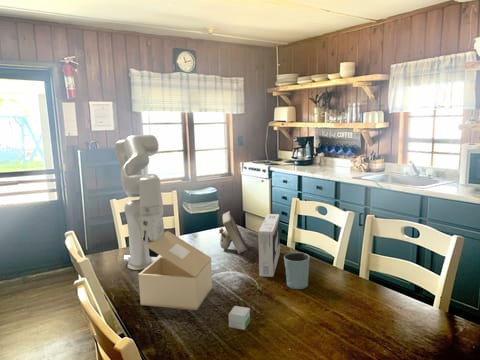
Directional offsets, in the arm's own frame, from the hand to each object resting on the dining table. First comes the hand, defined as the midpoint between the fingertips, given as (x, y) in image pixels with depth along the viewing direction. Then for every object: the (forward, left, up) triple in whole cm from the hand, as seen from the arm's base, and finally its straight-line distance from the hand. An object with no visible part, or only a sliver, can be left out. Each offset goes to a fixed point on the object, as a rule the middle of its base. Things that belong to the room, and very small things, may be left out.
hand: (154, 256), depth 141 cm
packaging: (+39, +39, -16) cm, 57 cm away
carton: (+9, 0, -16) cm, 18 cm away
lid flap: (+11, 0, +2) cm, 11 cm away
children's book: (+17, +55, -16) cm, 60 cm away
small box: (+37, -15, -16) cm, 43 cm away
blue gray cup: (+53, +18, -16) cm, 58 cm away
